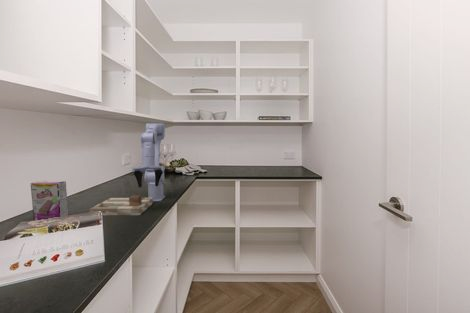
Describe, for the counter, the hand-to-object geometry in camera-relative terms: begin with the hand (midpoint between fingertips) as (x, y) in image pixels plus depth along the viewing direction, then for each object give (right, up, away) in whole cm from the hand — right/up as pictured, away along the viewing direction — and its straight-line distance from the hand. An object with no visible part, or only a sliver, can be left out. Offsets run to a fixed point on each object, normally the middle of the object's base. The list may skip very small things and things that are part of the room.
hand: (148, 186), depth 107 cm
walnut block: (-6, -9, +1) cm, 11 cm away
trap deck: (-13, -11, +5) cm, 18 cm away
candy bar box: (-37, -13, -10) cm, 41 cm away
